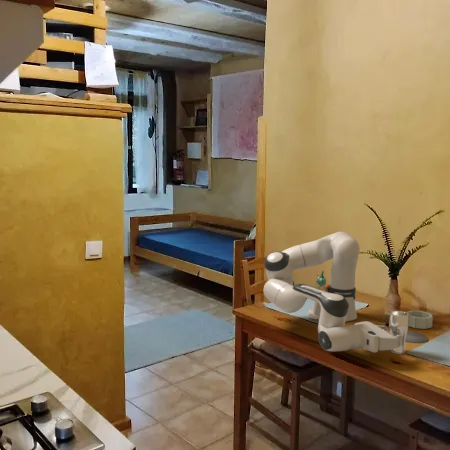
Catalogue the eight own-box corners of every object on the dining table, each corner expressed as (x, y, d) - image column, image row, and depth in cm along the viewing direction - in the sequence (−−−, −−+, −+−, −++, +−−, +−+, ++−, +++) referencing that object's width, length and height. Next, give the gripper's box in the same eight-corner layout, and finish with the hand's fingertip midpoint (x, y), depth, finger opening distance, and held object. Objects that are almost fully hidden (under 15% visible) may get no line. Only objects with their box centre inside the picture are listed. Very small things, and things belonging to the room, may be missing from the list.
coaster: (399, 341, 202) (399, 340, 202) (395, 331, 214) (395, 330, 214) (430, 343, 200) (430, 343, 200) (425, 333, 211) (425, 332, 211)
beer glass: (396, 355, 188) (398, 317, 186) (383, 349, 194) (385, 311, 192) (410, 352, 191) (413, 314, 189) (397, 346, 197) (399, 309, 195)
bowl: (407, 328, 217) (408, 317, 216) (404, 320, 227) (404, 309, 227) (433, 330, 215) (434, 319, 214) (428, 322, 225) (429, 311, 224)
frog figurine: (342, 297, 264) (340, 270, 262) (309, 302, 263) (307, 275, 260) (336, 292, 274) (334, 266, 271) (304, 296, 272) (302, 270, 270)
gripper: (346, 334, 197) (377, 331, 201) (376, 354, 178) (410, 350, 181) (347, 319, 196) (378, 315, 200) (377, 337, 177) (410, 333, 181)
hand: (393, 332), depth 191 cm, fingers open, 8 cm apart
